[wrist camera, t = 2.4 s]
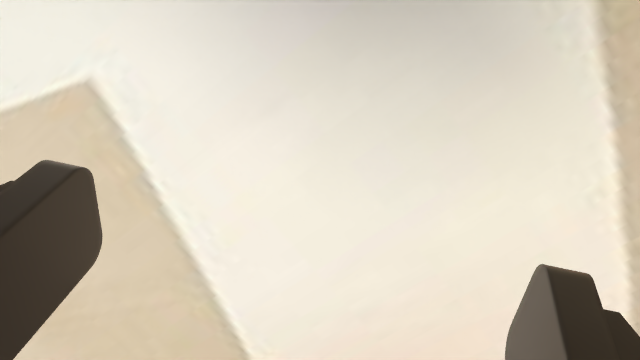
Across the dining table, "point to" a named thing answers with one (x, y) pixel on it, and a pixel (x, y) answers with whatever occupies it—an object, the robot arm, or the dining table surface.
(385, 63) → the dining table surface
